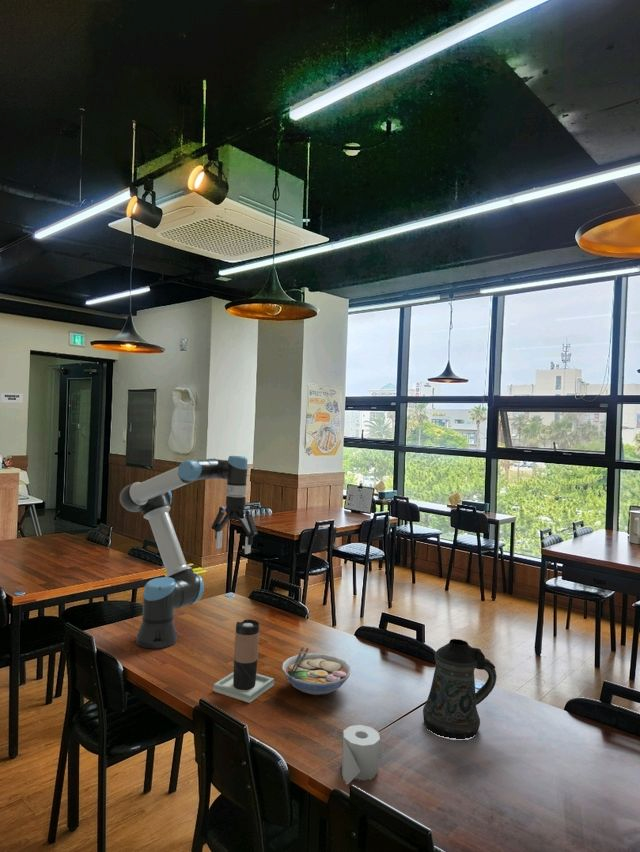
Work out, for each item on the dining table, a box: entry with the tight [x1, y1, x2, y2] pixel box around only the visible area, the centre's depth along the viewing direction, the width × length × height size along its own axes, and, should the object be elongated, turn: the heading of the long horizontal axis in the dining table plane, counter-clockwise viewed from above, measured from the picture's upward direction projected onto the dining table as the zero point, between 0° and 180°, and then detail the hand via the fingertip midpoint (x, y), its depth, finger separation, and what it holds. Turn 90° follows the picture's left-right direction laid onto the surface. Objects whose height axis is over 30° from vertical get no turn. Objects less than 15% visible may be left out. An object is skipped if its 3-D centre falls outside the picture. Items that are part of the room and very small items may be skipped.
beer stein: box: [422, 638, 497, 739], centre depth 162 cm, size 16×19×25 cm
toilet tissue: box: [341, 724, 381, 785], centre depth 137 cm, size 9×13×9 cm
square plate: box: [213, 671, 275, 704], centre depth 178 cm, size 14×14×2 cm
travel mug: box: [233, 619, 260, 690], centre depth 179 cm, size 8×8×20 cm
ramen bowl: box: [281, 646, 352, 696], centre depth 180 cm, size 25×23×8 cm
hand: (233, 550), depth 212 cm, fingers open, 13 cm apart
